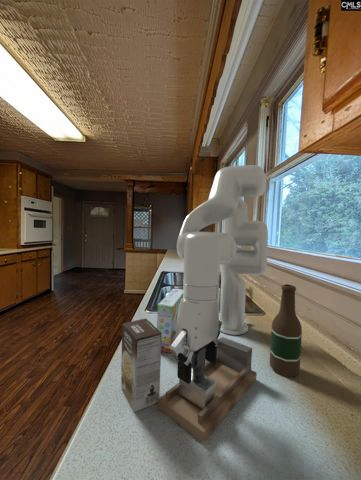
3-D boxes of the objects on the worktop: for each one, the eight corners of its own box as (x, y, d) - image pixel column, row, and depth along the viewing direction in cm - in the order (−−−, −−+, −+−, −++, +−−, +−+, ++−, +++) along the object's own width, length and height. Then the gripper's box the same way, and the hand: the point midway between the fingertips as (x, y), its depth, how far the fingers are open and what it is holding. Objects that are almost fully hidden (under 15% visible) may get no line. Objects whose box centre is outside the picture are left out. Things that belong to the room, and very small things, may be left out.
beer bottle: (301, 381, 60) (307, 290, 59) (269, 373, 63) (274, 287, 62) (297, 365, 68) (302, 284, 66) (269, 359, 70) (273, 281, 69)
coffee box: (119, 387, 56) (120, 322, 55) (144, 378, 59) (145, 317, 59) (133, 413, 48) (135, 338, 47) (161, 402, 52) (163, 331, 51)
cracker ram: (190, 384, 54) (191, 338, 54) (215, 399, 50) (217, 349, 49) (178, 393, 51) (180, 344, 51) (204, 410, 47) (206, 357, 46)
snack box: (172, 353, 72) (173, 306, 71) (154, 351, 73) (156, 304, 72) (184, 326, 92) (185, 288, 92) (170, 324, 94) (172, 287, 93)
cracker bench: (216, 361, 68) (217, 335, 68) (256, 379, 60) (257, 350, 60) (157, 408, 50) (158, 372, 50) (203, 442, 42) (204, 400, 42)
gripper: (208, 281, 58) (206, 348, 59) (159, 295, 45) (156, 381, 46) (235, 287, 53) (232, 360, 54) (189, 305, 40) (186, 400, 41)
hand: (197, 369), depth 50 cm, fingers open, 8 cm apart
